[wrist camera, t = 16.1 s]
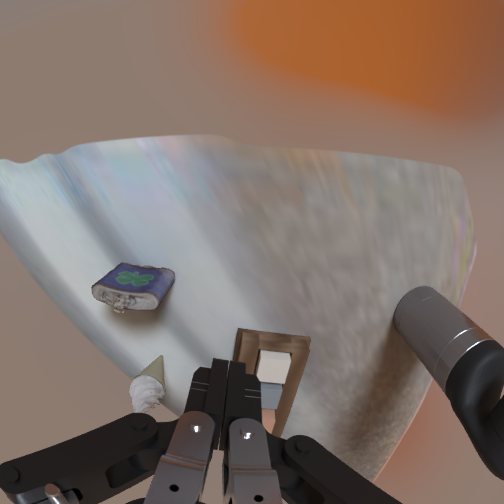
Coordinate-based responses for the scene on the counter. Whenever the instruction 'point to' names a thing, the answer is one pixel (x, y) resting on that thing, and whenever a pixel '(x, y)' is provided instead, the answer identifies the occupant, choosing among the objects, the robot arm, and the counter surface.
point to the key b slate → (270, 394)
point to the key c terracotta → (268, 419)
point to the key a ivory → (272, 366)
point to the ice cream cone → (148, 387)
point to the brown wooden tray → (295, 345)
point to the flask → (134, 287)
